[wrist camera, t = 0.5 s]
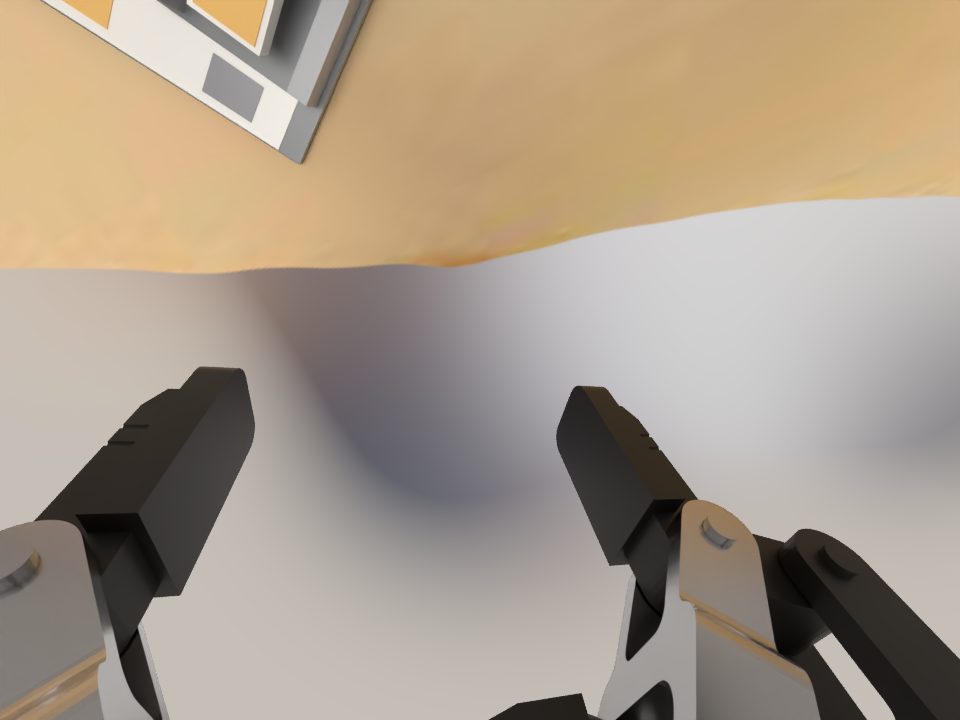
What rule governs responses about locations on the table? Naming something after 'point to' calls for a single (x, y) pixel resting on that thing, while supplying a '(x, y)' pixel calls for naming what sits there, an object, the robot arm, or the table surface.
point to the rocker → (244, 20)
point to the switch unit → (237, 59)
